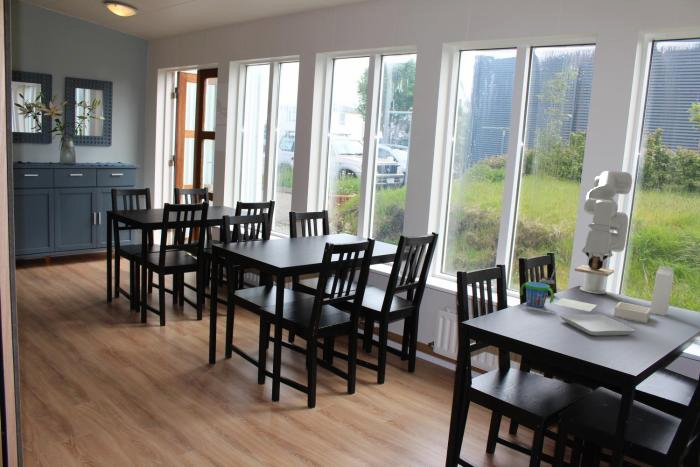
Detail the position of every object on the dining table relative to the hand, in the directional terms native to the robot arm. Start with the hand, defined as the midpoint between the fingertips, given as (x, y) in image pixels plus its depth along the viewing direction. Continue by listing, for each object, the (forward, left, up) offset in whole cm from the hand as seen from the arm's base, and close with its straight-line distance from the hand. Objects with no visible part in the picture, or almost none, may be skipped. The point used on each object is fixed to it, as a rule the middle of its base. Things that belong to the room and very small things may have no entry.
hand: (594, 267), depth 267 cm
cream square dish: (0, +18, -19) cm, 26 cm away
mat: (0, -6, -19) cm, 20 cm away
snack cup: (+17, -20, -19) cm, 33 cm away
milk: (-19, +27, -19) cm, 38 cm away
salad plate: (+33, +9, -20) cm, 39 cm away
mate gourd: (-11, -22, -19) cm, 31 cm away
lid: (0, 0, -2) cm, 2 cm away
